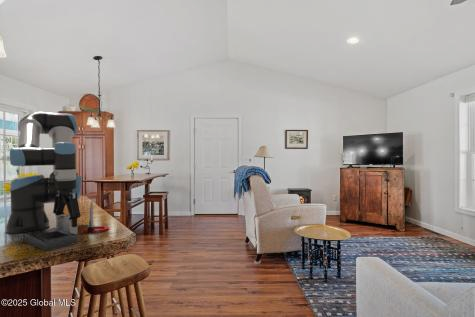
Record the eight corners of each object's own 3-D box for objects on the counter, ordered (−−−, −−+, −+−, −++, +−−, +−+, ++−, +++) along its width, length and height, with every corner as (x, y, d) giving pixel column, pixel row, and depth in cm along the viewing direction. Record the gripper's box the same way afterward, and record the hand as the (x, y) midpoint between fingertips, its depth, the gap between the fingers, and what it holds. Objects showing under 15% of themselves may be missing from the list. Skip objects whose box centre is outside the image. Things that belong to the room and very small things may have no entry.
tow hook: (95, 228, 120) (80, 233, 111) (96, 199, 120) (81, 201, 111) (112, 229, 119) (98, 234, 109) (113, 199, 119) (99, 202, 110)
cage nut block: (58, 233, 110) (57, 216, 110) (69, 231, 114) (69, 214, 114) (63, 235, 108) (62, 218, 108) (75, 232, 112) (74, 215, 112)
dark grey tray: (24, 241, 100) (24, 233, 100) (54, 235, 108) (54, 227, 108) (45, 251, 90) (45, 241, 90) (76, 242, 98) (76, 234, 98)
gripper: (43, 179, 114) (44, 230, 114) (69, 181, 101) (70, 239, 101) (62, 178, 120) (63, 226, 121) (89, 180, 107) (90, 234, 108)
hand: (66, 232), depth 111 cm, fingers open, 11 cm apart
